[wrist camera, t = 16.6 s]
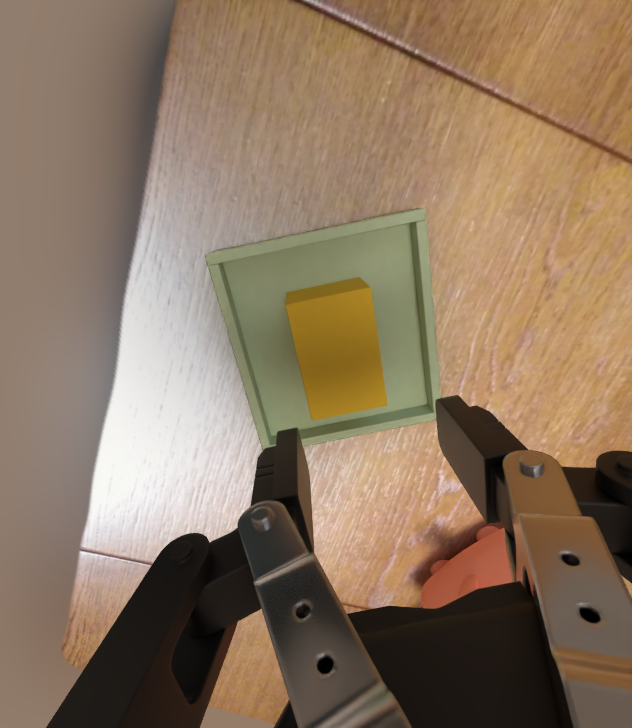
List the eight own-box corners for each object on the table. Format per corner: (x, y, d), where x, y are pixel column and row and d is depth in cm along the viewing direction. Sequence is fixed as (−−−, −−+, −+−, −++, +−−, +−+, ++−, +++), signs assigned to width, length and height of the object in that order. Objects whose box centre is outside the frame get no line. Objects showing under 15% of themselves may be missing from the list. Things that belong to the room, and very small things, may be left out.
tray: (210, 252, 22) (204, 254, 21) (416, 208, 22) (425, 207, 20) (265, 440, 27) (263, 454, 25) (434, 406, 27) (443, 418, 25)
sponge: (286, 292, 23) (285, 304, 20) (360, 276, 23) (371, 286, 19) (309, 394, 25) (312, 421, 22) (375, 381, 25) (388, 406, 22)
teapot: (523, 624, 36) (605, 770, 26) (400, 623, 35) (439, 774, 25) (573, 502, 31) (697, 629, 21) (431, 497, 30) (494, 627, 20)
